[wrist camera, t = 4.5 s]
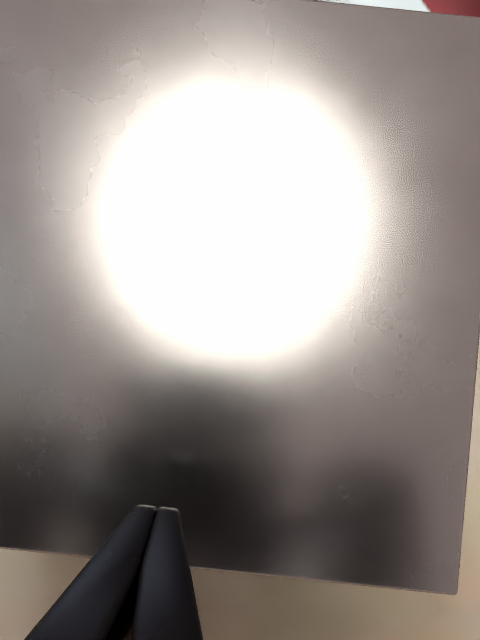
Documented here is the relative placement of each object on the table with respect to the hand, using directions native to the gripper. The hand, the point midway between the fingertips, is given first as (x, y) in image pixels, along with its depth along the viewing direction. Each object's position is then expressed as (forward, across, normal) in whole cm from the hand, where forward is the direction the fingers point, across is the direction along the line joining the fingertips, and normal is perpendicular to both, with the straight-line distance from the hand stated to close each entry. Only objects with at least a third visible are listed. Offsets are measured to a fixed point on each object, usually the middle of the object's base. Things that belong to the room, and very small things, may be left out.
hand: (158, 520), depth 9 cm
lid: (+5, 0, -3) cm, 6 cm away
